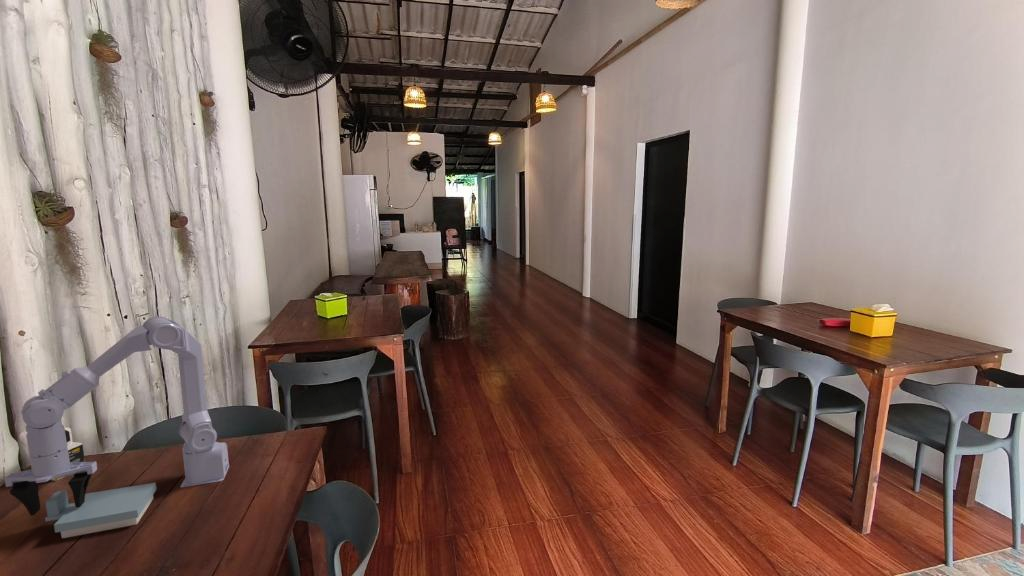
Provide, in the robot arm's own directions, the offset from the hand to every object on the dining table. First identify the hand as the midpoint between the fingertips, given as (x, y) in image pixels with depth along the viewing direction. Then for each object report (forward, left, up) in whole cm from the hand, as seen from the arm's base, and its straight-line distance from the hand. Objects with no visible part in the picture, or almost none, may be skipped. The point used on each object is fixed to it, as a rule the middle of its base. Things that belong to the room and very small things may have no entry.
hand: (58, 508), depth 100 cm
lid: (-7, 0, -2) cm, 8 cm away
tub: (-9, 0, -5) cm, 10 cm away
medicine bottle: (+12, -28, -5) cm, 31 cm away
